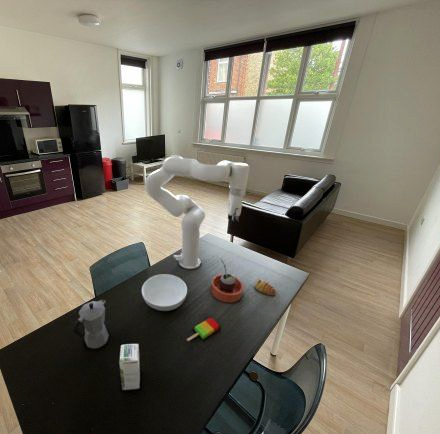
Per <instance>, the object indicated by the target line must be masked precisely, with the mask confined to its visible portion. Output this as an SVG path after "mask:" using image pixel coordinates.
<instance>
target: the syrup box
mask: <svg viewBox="0 0 440 434" xmlns="http://www.w3.org/2000/svg"><path fill="white" fill-rule="evenodd" d="M140 368H141V367H140V348H139V343H126V344H121V345H120V351H119V372H120V382H121V390H122V391H129V390H138V389H140V388H141V385H140V384H141V376H140V375H141V372H140V371H141V369H140Z"/></svg>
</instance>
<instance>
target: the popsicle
mask: <svg viewBox="0 0 440 434" xmlns="http://www.w3.org/2000/svg"><path fill="white" fill-rule="evenodd" d="M219 329H220V324H219V323H218V322H217V321H216V320H215V319H214V318H212V317H209V318H207V319H206V320H204V321H202V322H200V323H199V324H197V325H196V326H194V331H195V332H196V333H194V334H192V335H191V336H190V337H188V338H186V341H187V342H190V341H192V340H193V339H194V338H196V337H198V336H199V337H200V338H201V339H202V340H204V339H206V338H208V337H209V336H210V335H213V334H214V333H216V332H217V331H218V330H219Z"/></svg>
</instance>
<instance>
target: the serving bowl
mask: <svg viewBox="0 0 440 434" xmlns="http://www.w3.org/2000/svg"><path fill="white" fill-rule="evenodd" d="M187 286H188V285H187V284H186V283H185V281H184V280H183V279H182V278H180V277H179V276H176V275H174V274H168V273H161V274H160V273H159V274H156V275H153V276H150V277H149V278H148V279H146V280H145V282H144V283H143V284H142V286H141V295H142V298H143V301H144V302H145V303H146V304H147V306H149V307H150V308H151V309H154V310H155V311H159V312H160V311H161V312H169V311H173V310H175V309H177V308H178V307H180V306H181V305H182V304H183V303H184V301H185V300H186V298H187V295H188V287H187Z"/></svg>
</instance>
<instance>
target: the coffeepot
mask: <svg viewBox="0 0 440 434" xmlns="http://www.w3.org/2000/svg"><path fill="white" fill-rule="evenodd" d="M106 302H107V300H105V299H100V300H97V301H95V300H92V301H89V302H87V303H85V304H83V305H82V307H81V308H80V310H79V311H78V315H79V317H78V319H77V320H76V321H75V322H73V326H72V328H71V330H72V332H73V334H75V335H76V336H77V337H78V338H79V339H82V338H83V337H84V342H85V344H86V347H87V348H90V349H99V348H101V347H103V346H104V345H105V344H107V342H108V339H109V336H110V334H109V332H108V329H107V328H106V325H105V319H106V307H105V303H106ZM82 324H83V326H84V332H83V333H82V332H81V331H80V330H79V328H78V327H79V326H80V325H82Z"/></svg>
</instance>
